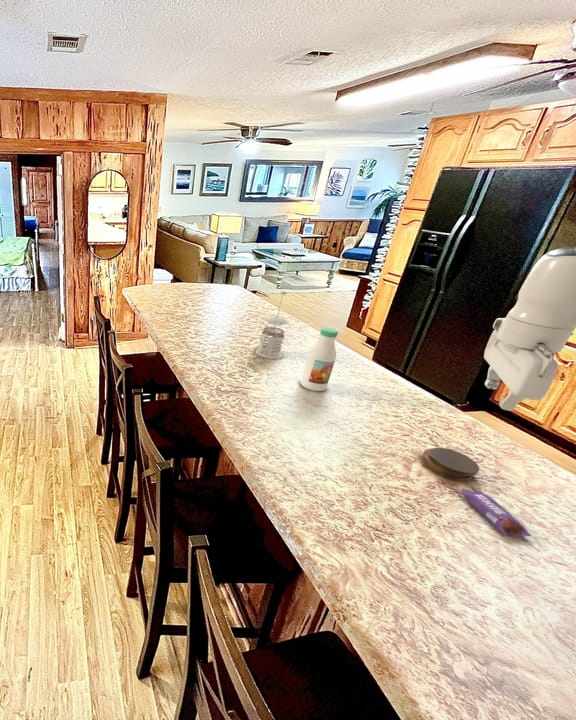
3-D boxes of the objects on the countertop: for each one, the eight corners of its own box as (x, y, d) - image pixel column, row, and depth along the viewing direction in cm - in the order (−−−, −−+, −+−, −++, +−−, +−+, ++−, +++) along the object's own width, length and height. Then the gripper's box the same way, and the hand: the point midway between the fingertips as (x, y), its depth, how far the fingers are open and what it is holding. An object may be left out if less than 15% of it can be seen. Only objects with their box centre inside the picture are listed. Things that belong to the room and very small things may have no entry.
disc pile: (462, 461, 95) (467, 451, 94) (480, 487, 87) (486, 477, 86) (415, 451, 98) (420, 441, 97) (429, 475, 90) (434, 465, 89)
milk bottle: (296, 385, 128) (312, 329, 119) (304, 377, 133) (320, 323, 124) (322, 394, 123) (340, 336, 114) (328, 385, 128) (347, 329, 119)
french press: (287, 355, 149) (304, 292, 138) (269, 362, 143) (285, 297, 132) (265, 346, 157) (279, 286, 146) (247, 352, 151) (260, 290, 140)
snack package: (460, 487, 84) (484, 488, 84) (456, 493, 85) (479, 495, 85) (507, 531, 74) (535, 532, 74) (502, 538, 75) (529, 539, 75)
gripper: (583, 359, 63) (539, 428, 69) (533, 322, 79) (501, 380, 86) (531, 351, 66) (493, 418, 72) (493, 316, 82) (464, 373, 88)
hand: (497, 397), depth 79 cm, fingers open, 8 cm apart
